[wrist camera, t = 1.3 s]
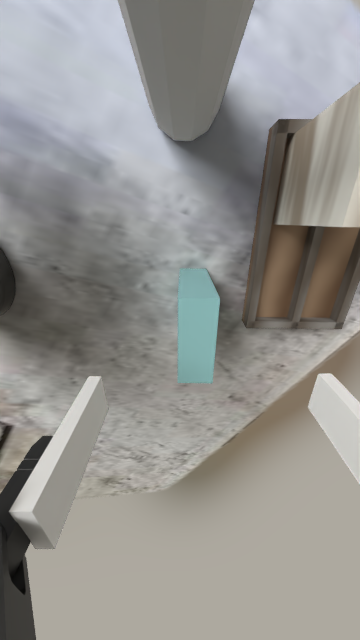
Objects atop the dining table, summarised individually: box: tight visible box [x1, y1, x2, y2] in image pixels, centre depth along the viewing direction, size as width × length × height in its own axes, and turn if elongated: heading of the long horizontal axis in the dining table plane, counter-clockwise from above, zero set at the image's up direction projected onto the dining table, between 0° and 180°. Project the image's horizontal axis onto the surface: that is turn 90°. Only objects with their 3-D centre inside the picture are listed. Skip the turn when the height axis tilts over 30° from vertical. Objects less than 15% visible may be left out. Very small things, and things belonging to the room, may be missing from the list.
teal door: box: [178, 269, 220, 383], centre depth 25 cm, size 4×9×12 cm, turn 0°
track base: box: [242, 83, 360, 329], centre depth 21 cm, size 13×22×13 cm, turn 0°
